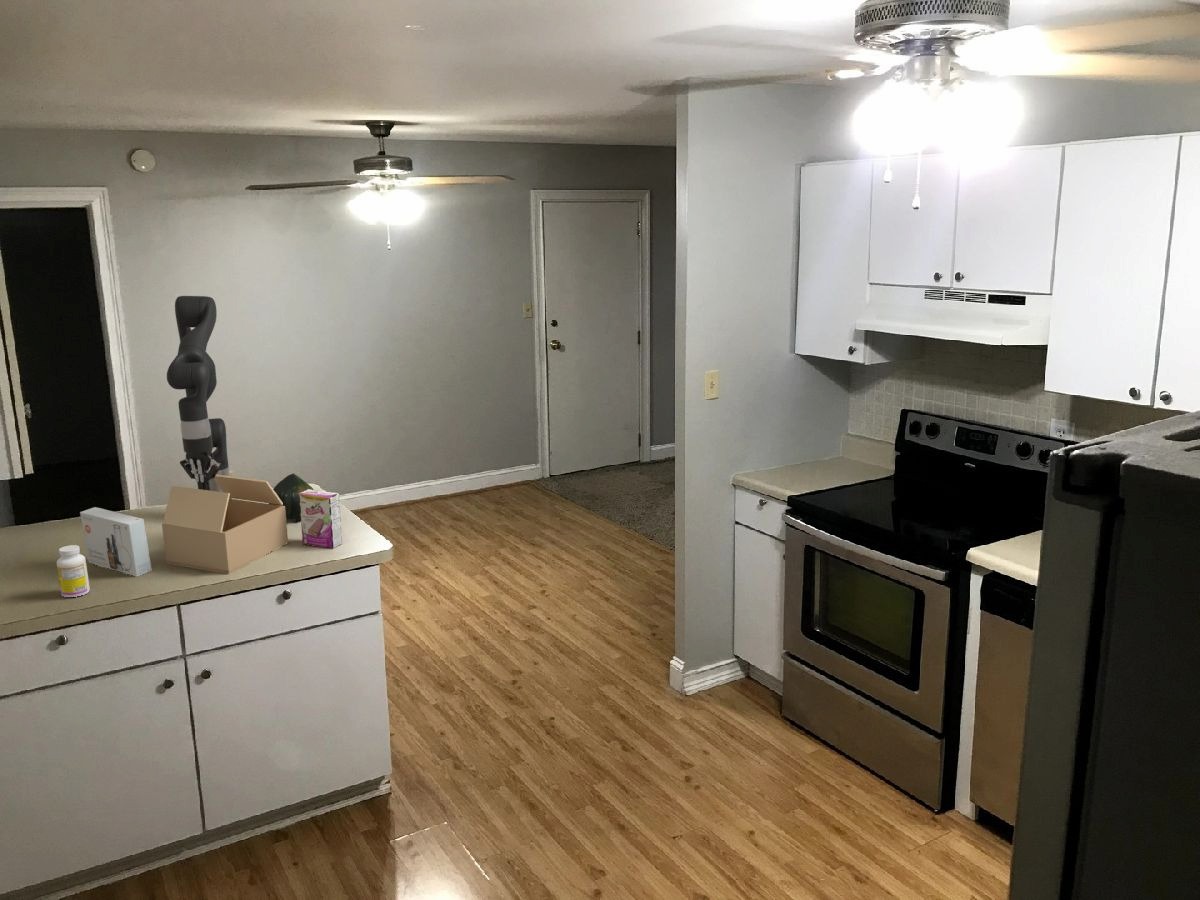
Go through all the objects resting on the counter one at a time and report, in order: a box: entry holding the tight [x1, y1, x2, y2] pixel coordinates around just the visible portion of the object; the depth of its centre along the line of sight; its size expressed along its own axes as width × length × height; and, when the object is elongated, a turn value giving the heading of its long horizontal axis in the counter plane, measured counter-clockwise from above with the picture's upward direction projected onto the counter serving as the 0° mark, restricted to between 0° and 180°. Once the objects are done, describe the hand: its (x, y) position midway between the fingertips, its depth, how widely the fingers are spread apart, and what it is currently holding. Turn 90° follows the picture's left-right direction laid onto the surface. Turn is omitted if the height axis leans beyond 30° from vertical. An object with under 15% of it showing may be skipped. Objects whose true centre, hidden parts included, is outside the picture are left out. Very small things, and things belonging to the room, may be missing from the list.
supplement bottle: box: [56, 544, 91, 598], centre depth 246 cm, size 7×7×13 cm
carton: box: [161, 498, 289, 575], centre depth 275 cm, size 22×26×12 cm
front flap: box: [162, 485, 230, 532], centre depth 263 cm, size 20×11×1 cm
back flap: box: [213, 474, 283, 505], centre depth 282 cm, size 20×11×1 cm
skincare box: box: [79, 506, 153, 577], centre depth 264 cm, size 21×5×16 cm, turn 62°
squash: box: [268, 473, 315, 522], centre depth 308 cm, size 14×15×15 cm
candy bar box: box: [299, 489, 343, 550], centre depth 282 cm, size 11×5×16 cm, turn 71°
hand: (204, 493), depth 265 cm, fingers closed
